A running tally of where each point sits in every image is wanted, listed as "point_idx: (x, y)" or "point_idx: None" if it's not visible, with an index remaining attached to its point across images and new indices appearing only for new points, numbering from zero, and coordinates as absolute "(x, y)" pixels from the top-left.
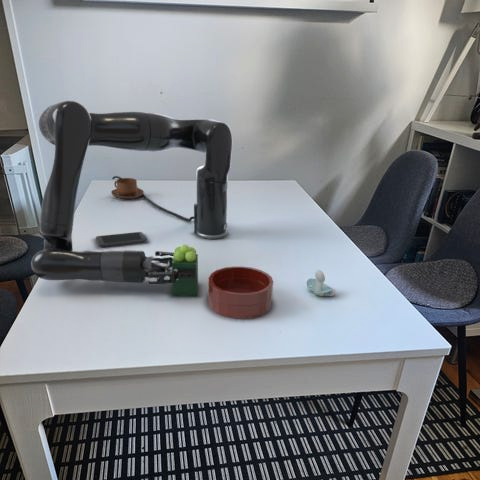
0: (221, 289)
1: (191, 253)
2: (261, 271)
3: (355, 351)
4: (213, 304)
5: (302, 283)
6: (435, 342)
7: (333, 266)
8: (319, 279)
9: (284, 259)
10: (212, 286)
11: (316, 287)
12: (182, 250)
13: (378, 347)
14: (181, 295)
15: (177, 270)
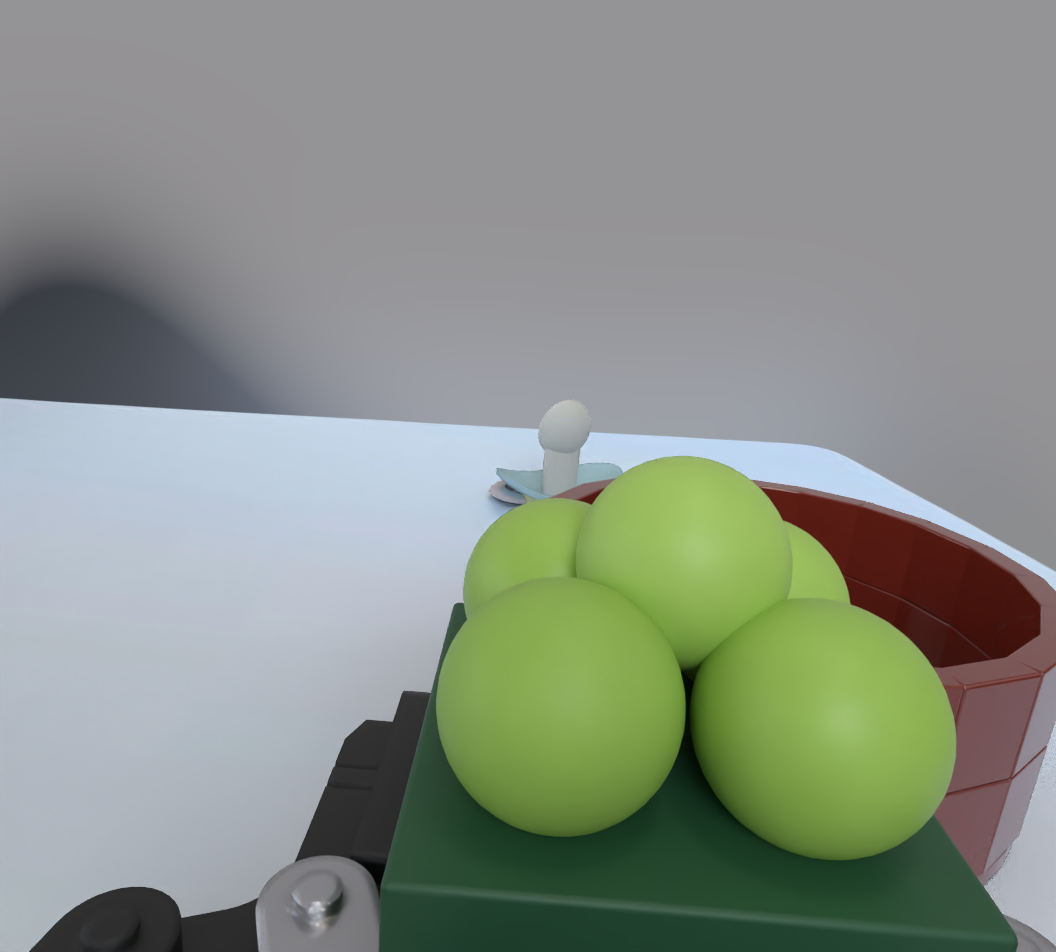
0: (1046, 634)
1: (799, 529)
2: (608, 483)
3: (970, 528)
4: (998, 832)
5: (455, 520)
6: (809, 448)
7: (303, 451)
8: (584, 438)
9: (137, 513)
10: (1039, 674)
11: (559, 485)
12: (792, 562)
13: (906, 499)
14: None
15: (1033, 935)
